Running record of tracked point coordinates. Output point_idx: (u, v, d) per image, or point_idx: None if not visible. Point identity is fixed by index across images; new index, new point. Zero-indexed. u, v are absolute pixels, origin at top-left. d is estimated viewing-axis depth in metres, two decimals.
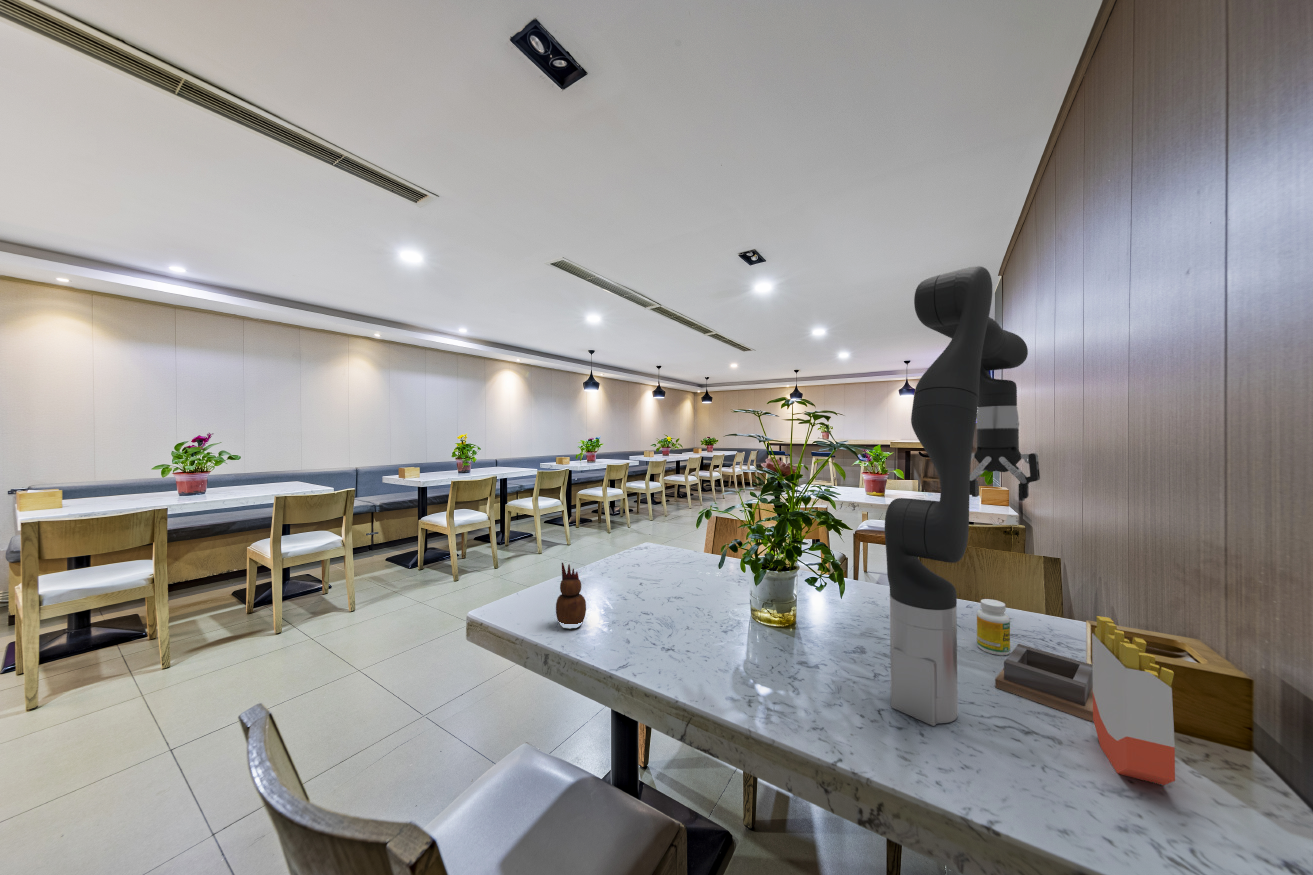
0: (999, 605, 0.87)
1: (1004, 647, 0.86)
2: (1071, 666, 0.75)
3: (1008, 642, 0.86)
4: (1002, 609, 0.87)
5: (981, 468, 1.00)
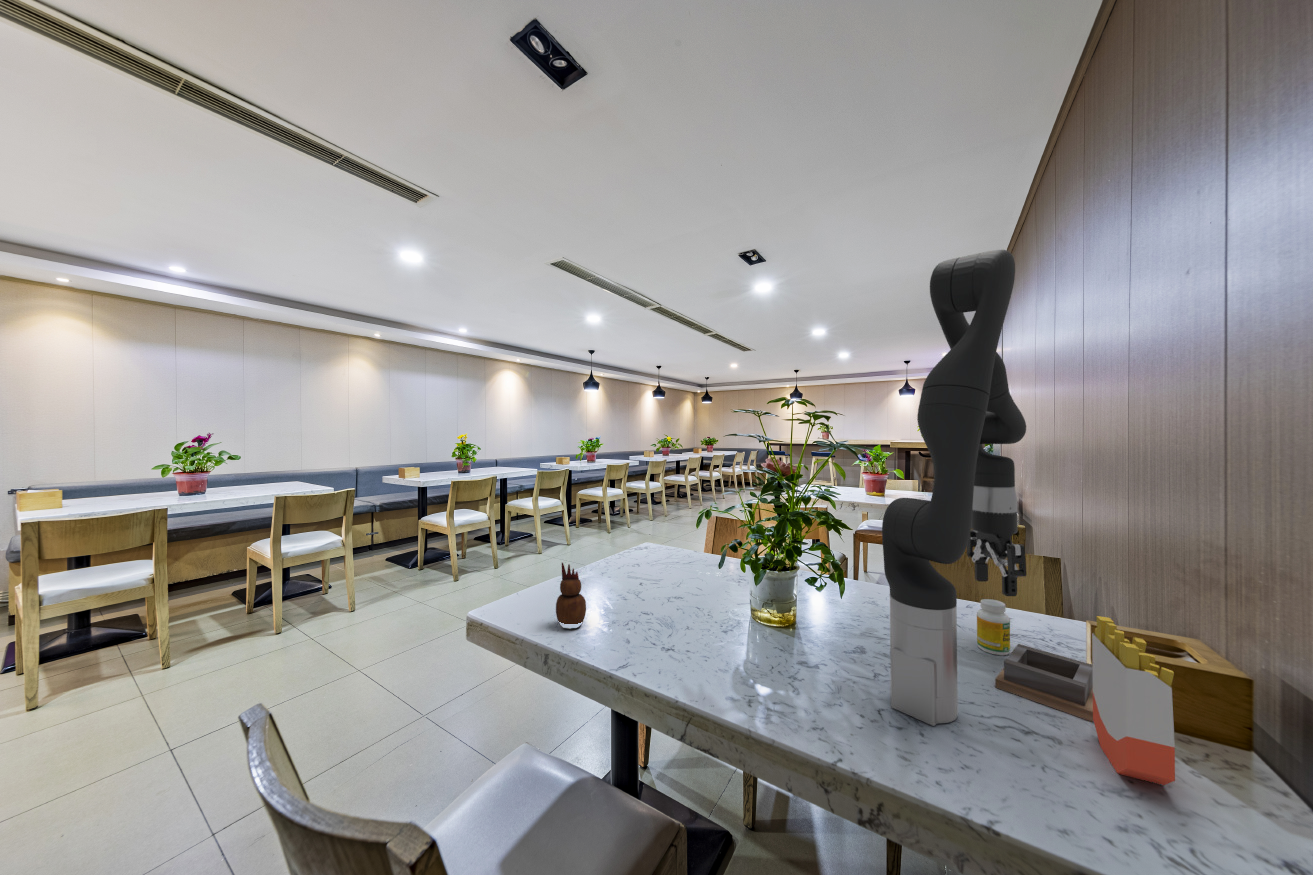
0: (999, 605, 0.87)
1: (1004, 647, 0.86)
2: (1071, 666, 0.75)
3: (1008, 642, 0.86)
4: (1002, 609, 0.87)
5: None
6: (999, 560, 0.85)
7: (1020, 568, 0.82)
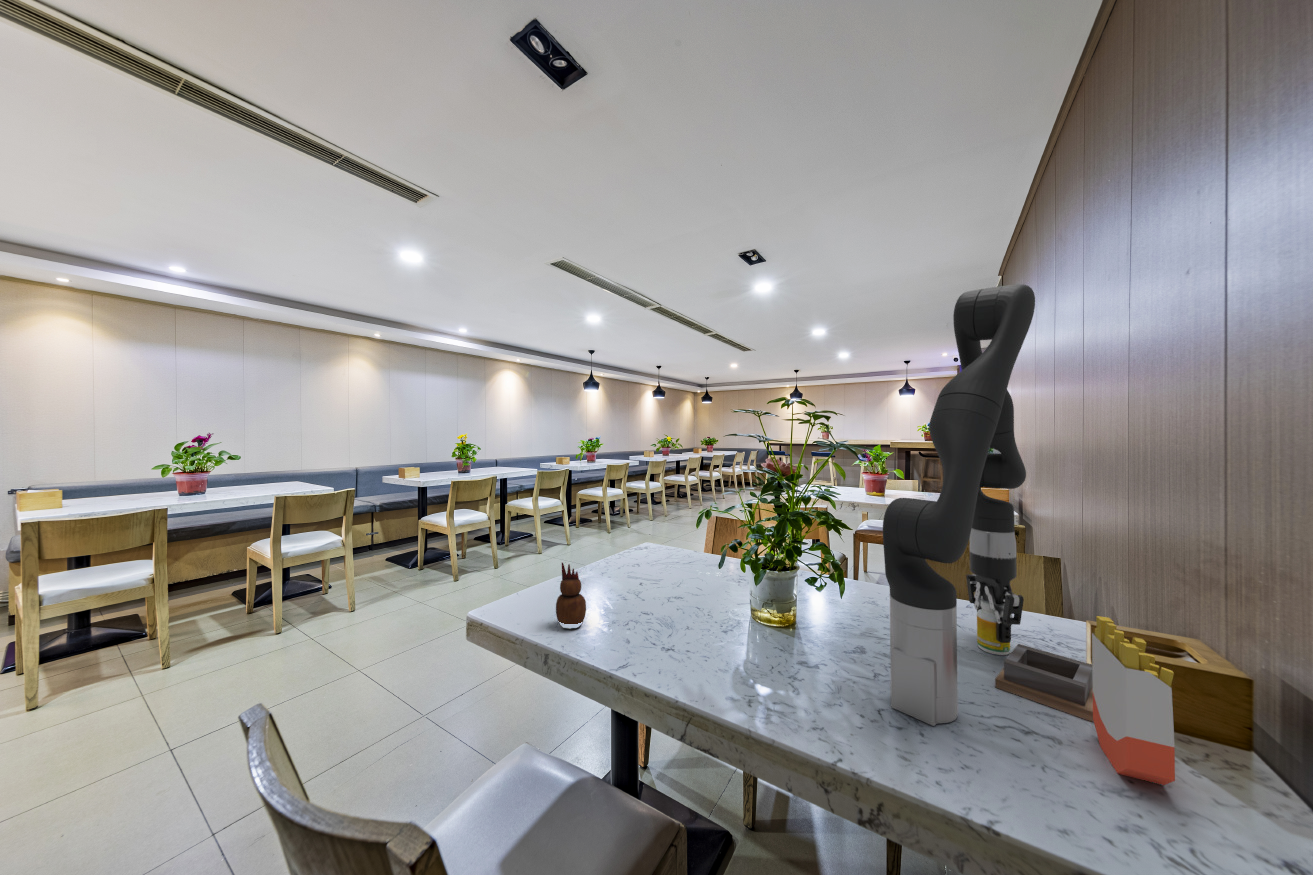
0: (999, 605, 0.87)
1: (1005, 647, 0.86)
2: (1071, 666, 0.75)
3: None
4: None
5: None
6: (996, 607, 0.86)
7: (1015, 616, 0.83)
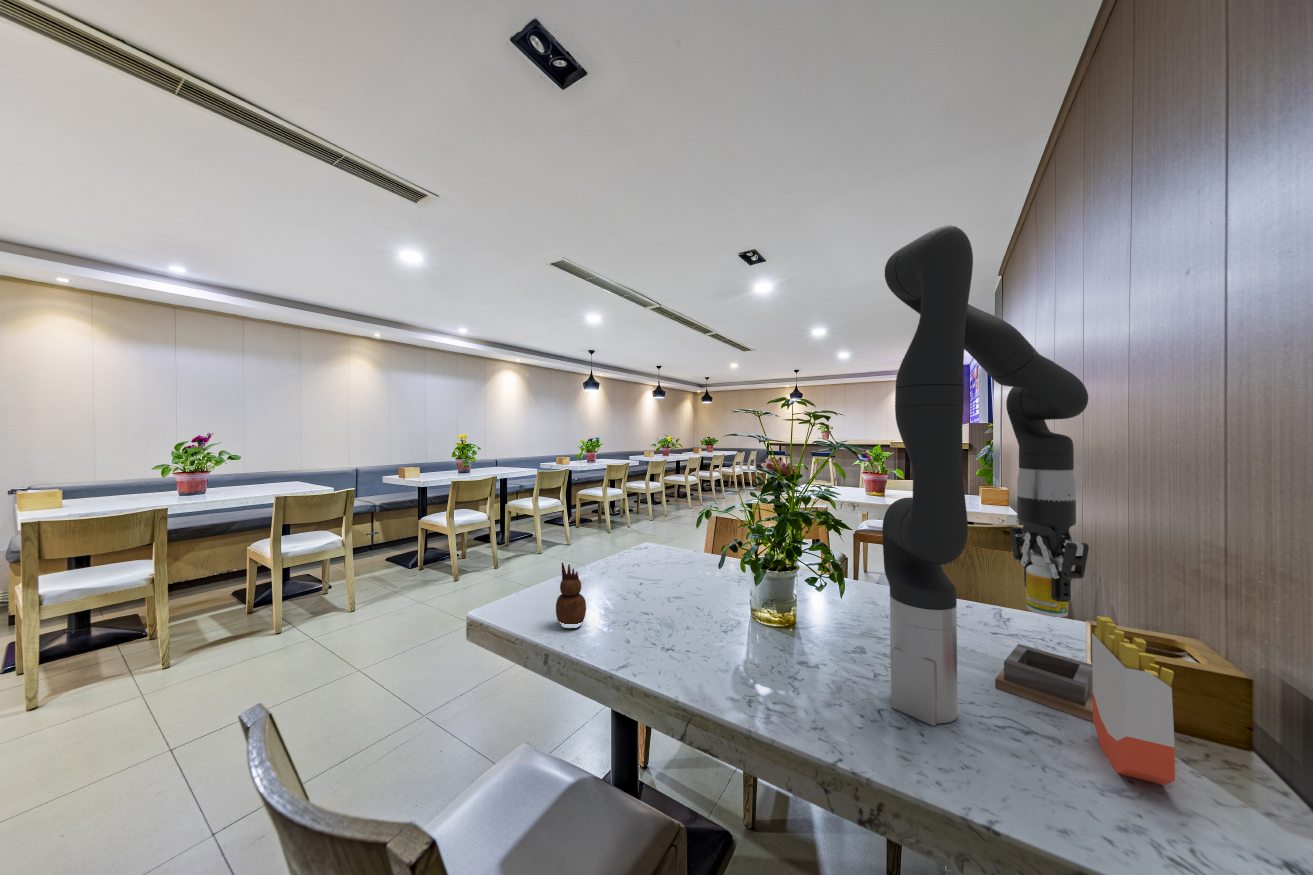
0: (1055, 558, 0.73)
1: (1062, 607, 0.72)
2: (1071, 666, 0.75)
3: (1066, 602, 0.72)
4: None
5: None
6: (1052, 559, 0.72)
7: (1077, 569, 0.69)
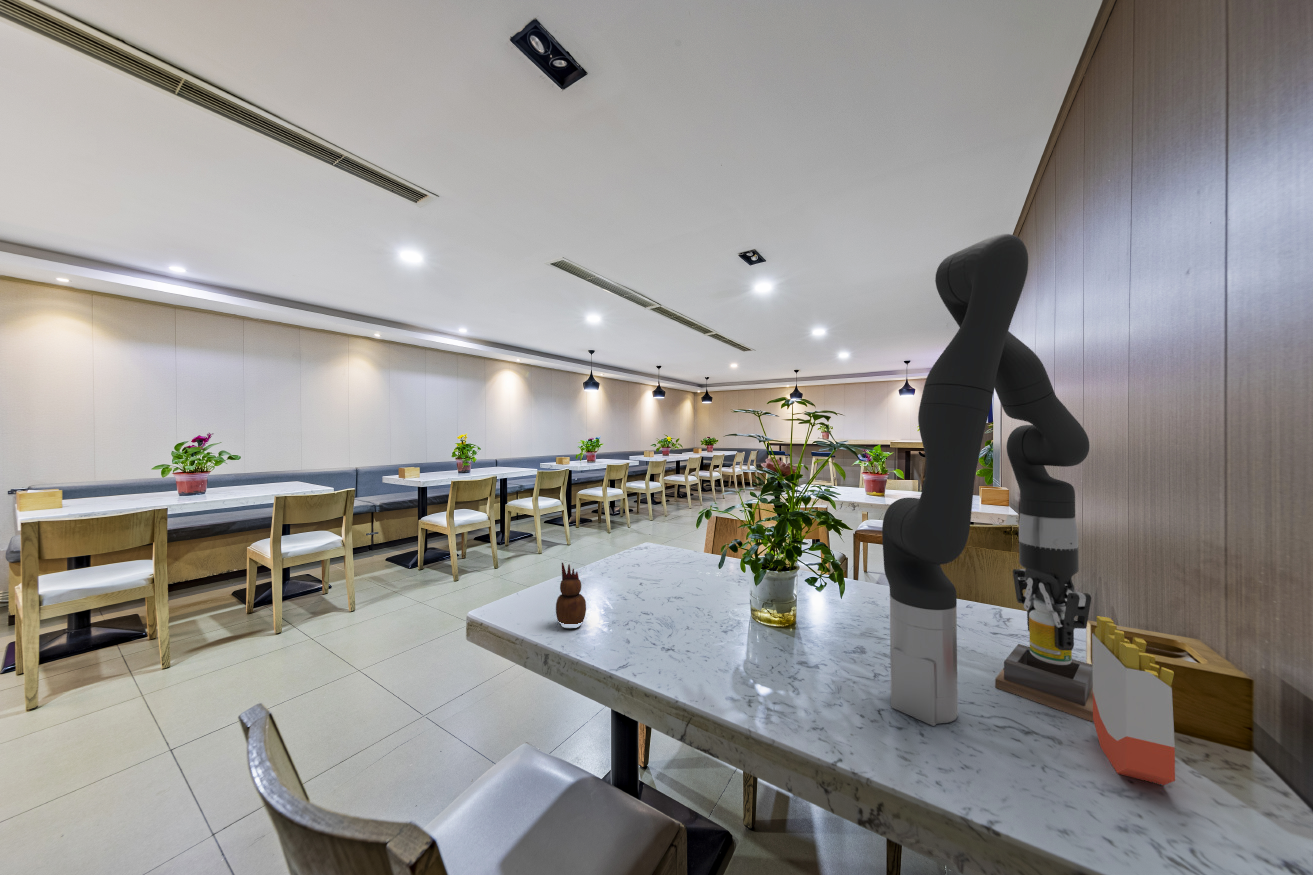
0: (1058, 605, 0.73)
1: (1066, 655, 0.72)
2: (1071, 666, 0.75)
3: None
4: None
5: None
6: (1054, 607, 0.72)
7: (1080, 619, 0.69)
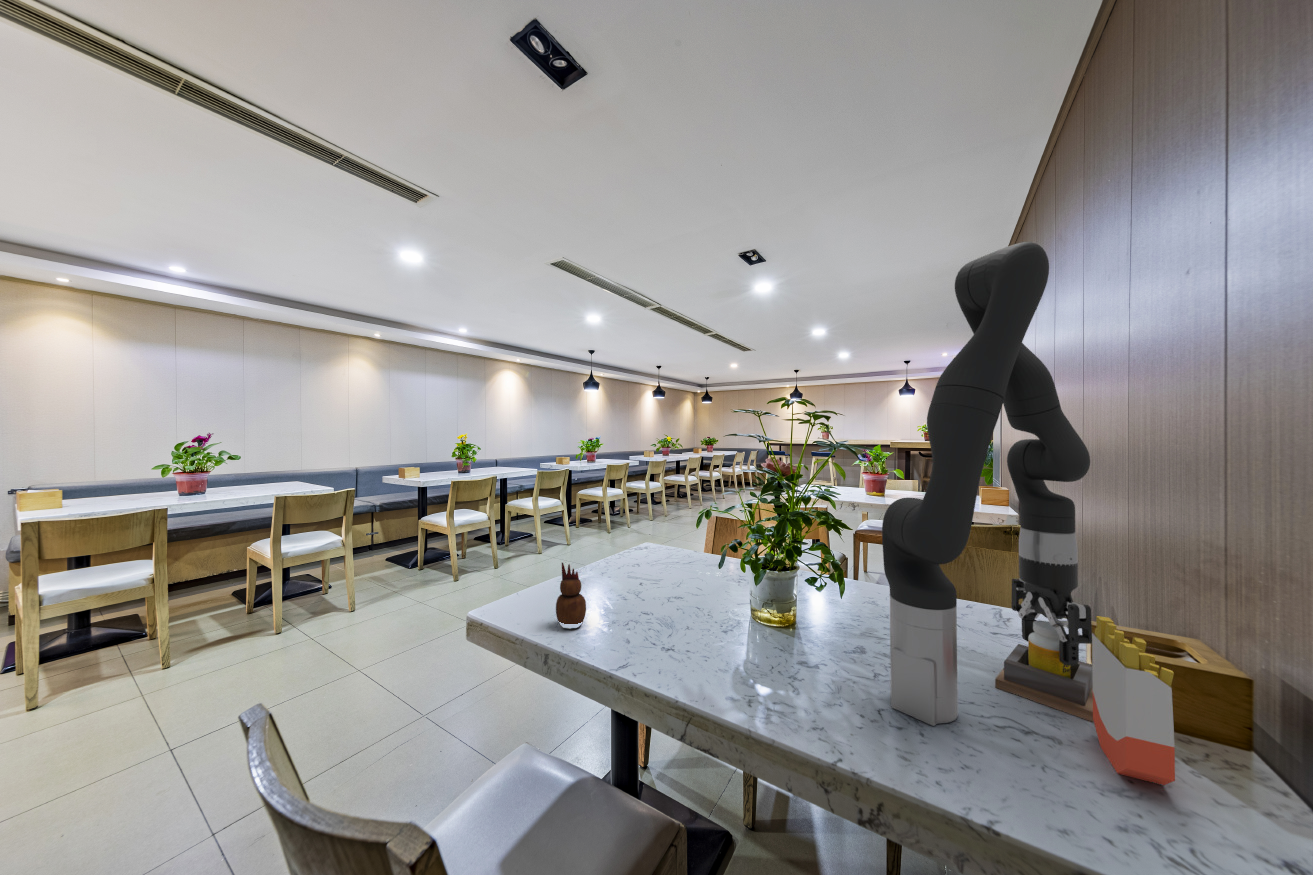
0: None
1: None
2: (1071, 666, 0.75)
3: (1069, 673, 0.72)
4: None
5: None
6: (1056, 621, 0.71)
7: (1084, 633, 0.68)
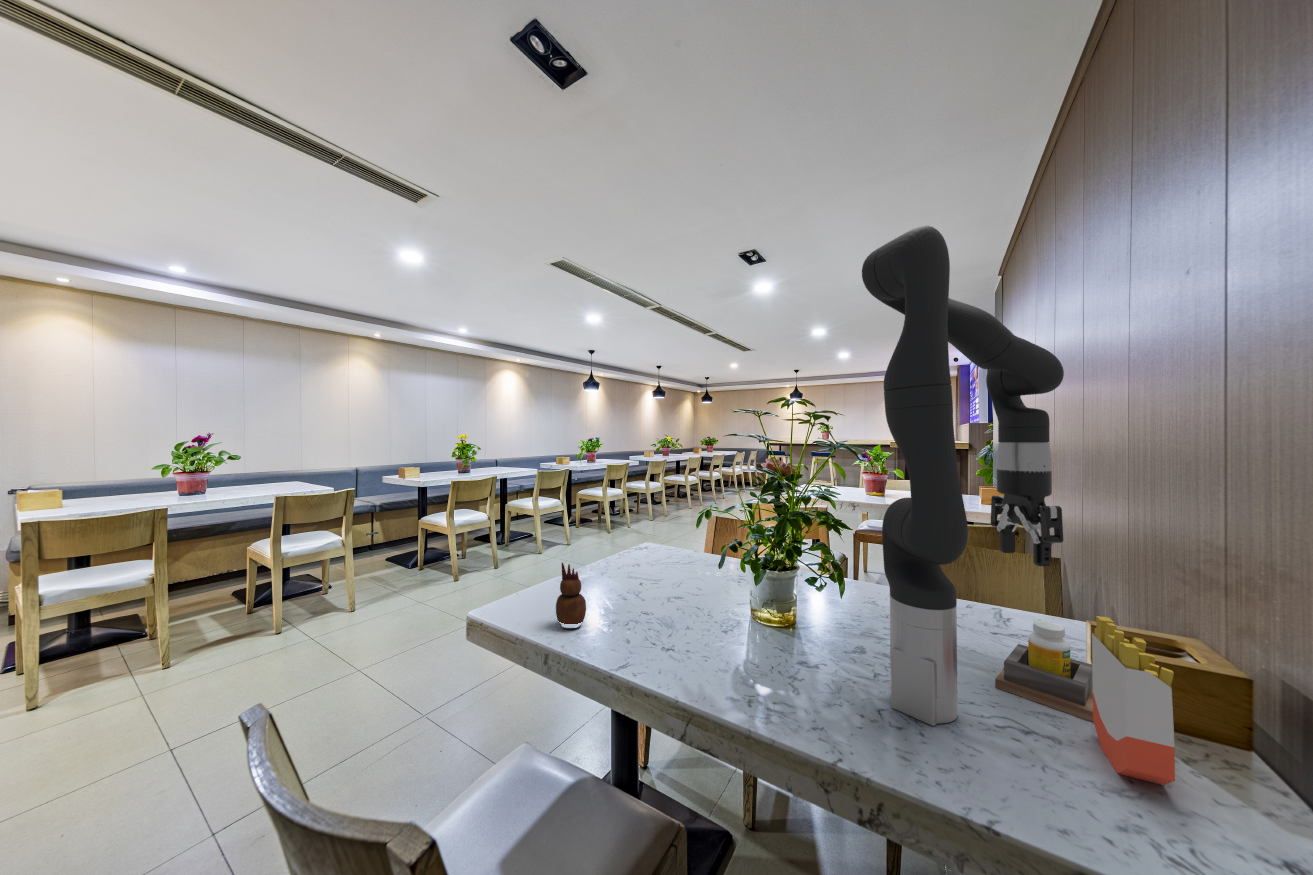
0: (1057, 629, 0.73)
1: None
2: (1071, 666, 0.75)
3: (1069, 673, 0.72)
4: (1061, 634, 0.72)
5: None
6: (1030, 525, 0.74)
7: (1056, 533, 0.72)
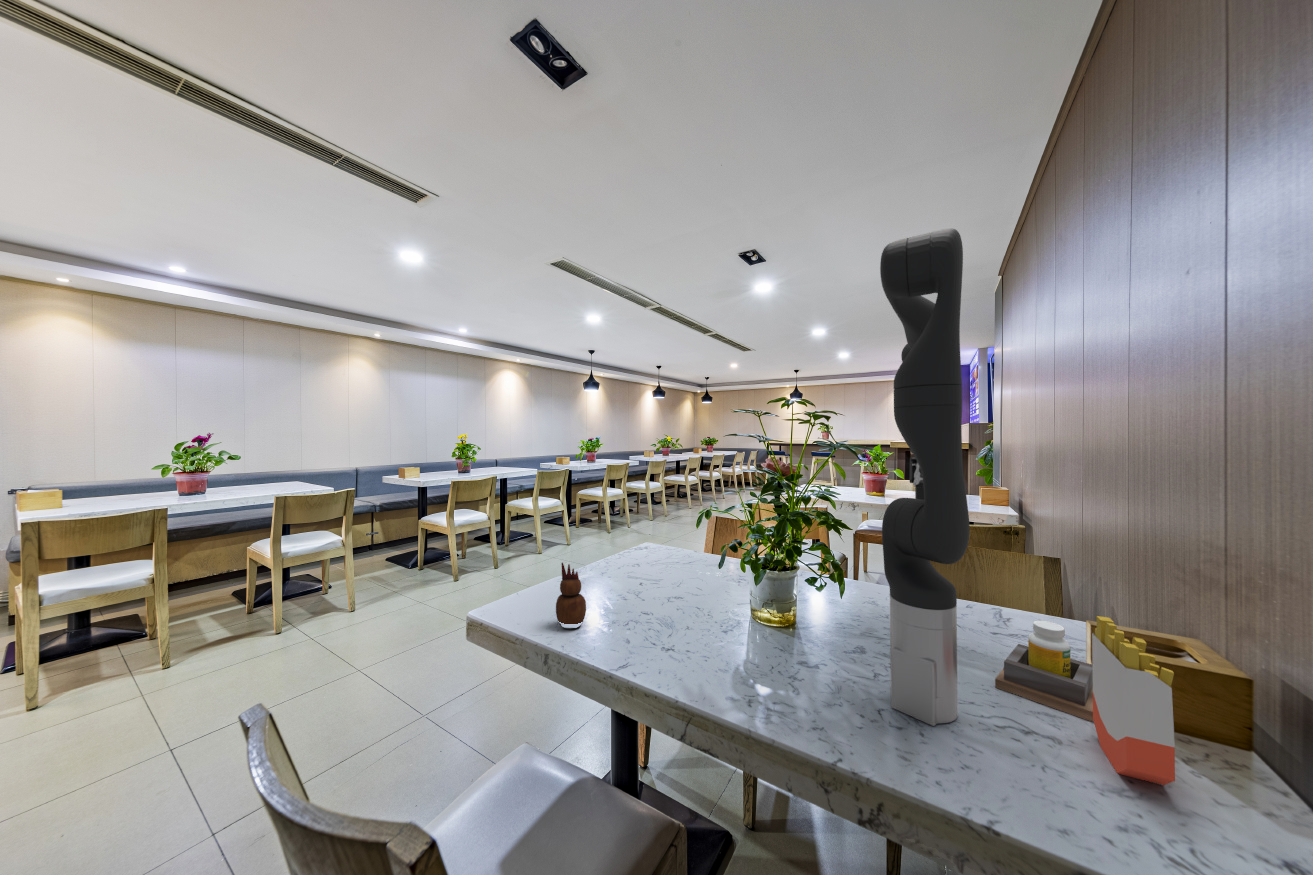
0: (1057, 629, 0.73)
1: None
2: (1071, 666, 0.75)
3: (1069, 673, 0.72)
4: (1061, 634, 0.72)
5: None
6: None
7: None
